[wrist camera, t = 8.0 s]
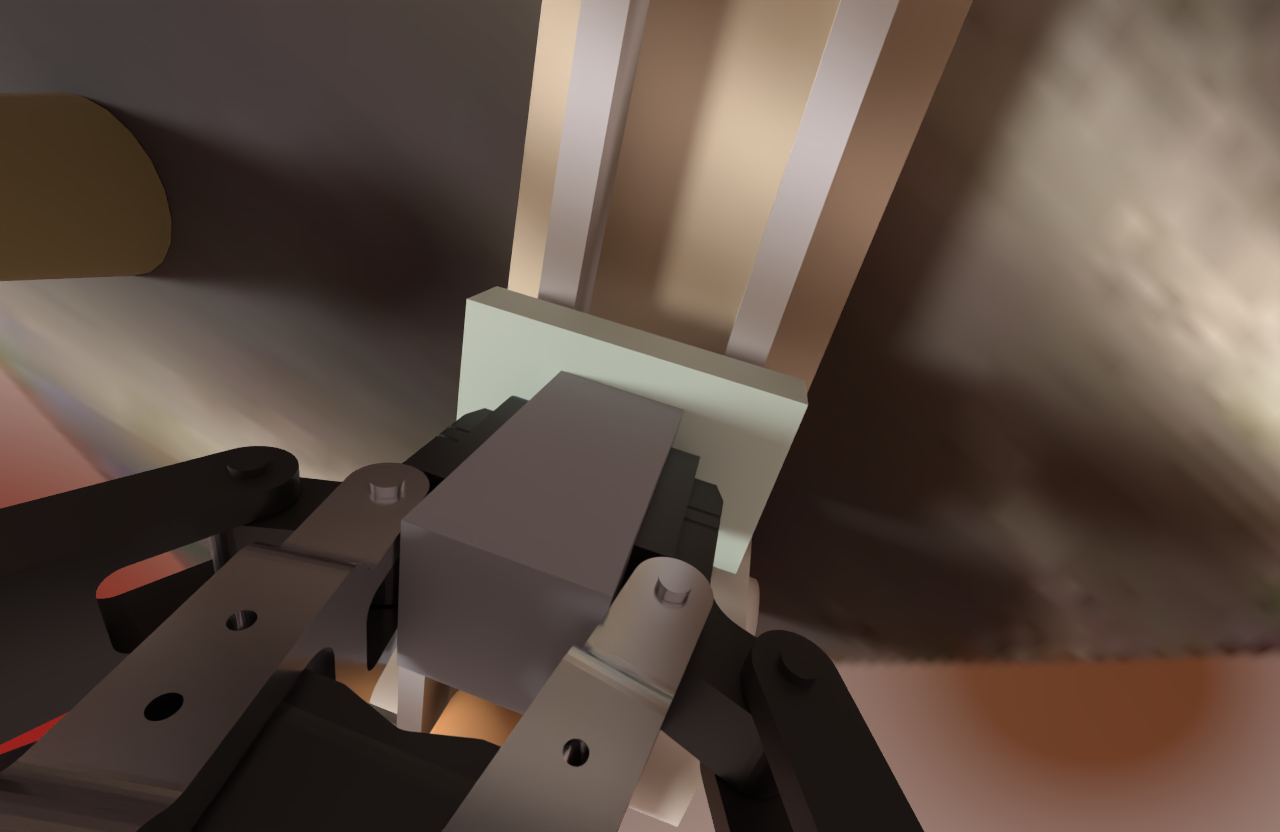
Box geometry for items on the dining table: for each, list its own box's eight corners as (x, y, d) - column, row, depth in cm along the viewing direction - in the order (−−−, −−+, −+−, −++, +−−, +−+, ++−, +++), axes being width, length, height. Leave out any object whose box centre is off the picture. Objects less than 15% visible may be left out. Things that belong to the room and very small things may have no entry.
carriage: (497, 286, 14) (230, 398, 7) (804, 379, 13) (835, 609, 6) (479, 449, 16) (265, 651, 9) (739, 538, 15) (709, 829, 8)
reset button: (465, 645, 12) (411, 728, 10) (592, 693, 12) (558, 787, 10) (456, 725, 13) (406, 810, 12) (568, 770, 13) (535, 865, 11)
